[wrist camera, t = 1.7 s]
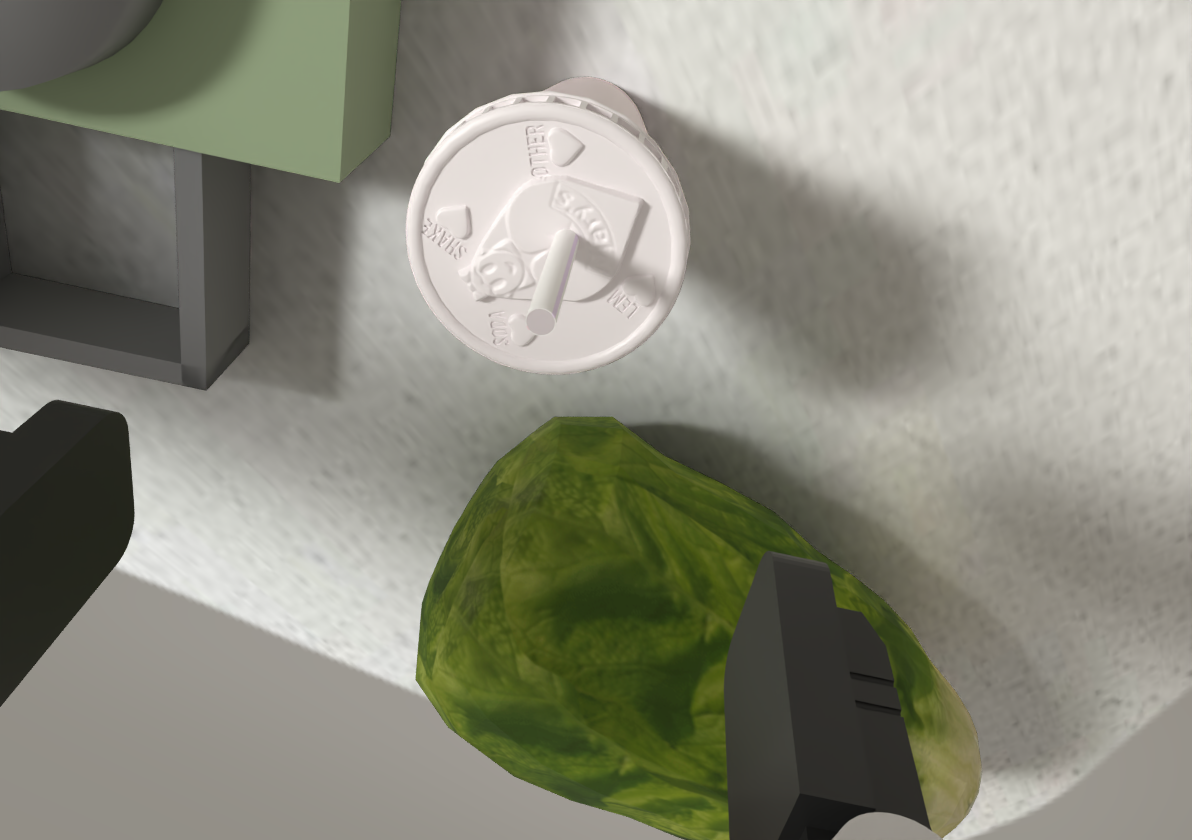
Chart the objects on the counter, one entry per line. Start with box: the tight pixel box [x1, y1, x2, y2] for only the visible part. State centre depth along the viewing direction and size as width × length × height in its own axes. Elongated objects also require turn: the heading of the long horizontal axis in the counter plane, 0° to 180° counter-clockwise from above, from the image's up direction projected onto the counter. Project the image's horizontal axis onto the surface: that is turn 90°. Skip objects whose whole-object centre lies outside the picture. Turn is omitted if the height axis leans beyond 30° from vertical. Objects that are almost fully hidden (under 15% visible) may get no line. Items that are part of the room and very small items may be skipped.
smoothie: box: [406, 77, 691, 374], centre depth 23 cm, size 6×6×14 cm
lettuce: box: [416, 417, 982, 840], centre depth 32 cm, size 12×21×11 cm, turn 59°
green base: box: [0, 0, 401, 391], centre depth 26 cm, size 18×20×7 cm
